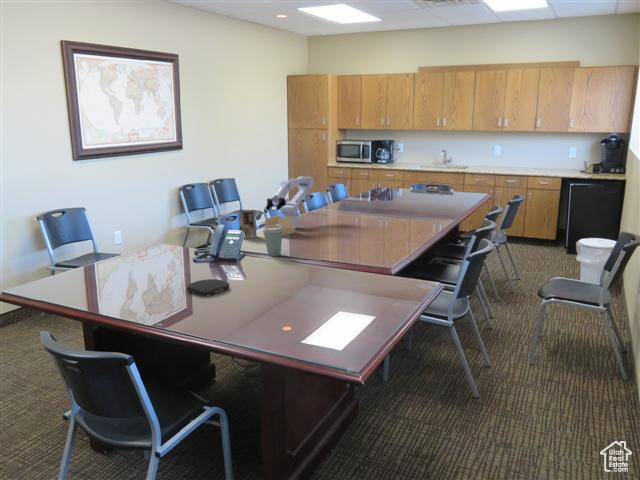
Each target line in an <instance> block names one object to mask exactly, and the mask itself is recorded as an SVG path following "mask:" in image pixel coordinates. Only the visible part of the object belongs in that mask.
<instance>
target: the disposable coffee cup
mask: <svg viewBox="0 0 640 480" xmlns="http://www.w3.org/2000/svg"><path fill="white" fill-rule="evenodd" d="M282 231H283V228H282V226H280V225H278V224H277V225H270V226H266V227H265V226H264V227H263V229H262V232H263V236H264V240H265V246H266V249H267V255H268V256H271V257H275V256H280V255H281V251H282V241H283V236H282Z"/></svg>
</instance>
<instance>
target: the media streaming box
mask: <svg viewBox="0 0 640 480" xmlns="http://www.w3.org/2000/svg"><path fill="white" fill-rule="evenodd" d="M228 289H229V290H230V283H229V282H227V281H225V280H222V279H217V278H215V279H214V278H213V279H200V280H197V281H193V282H192V283H189V284H188V285H187V286H186V291H187V292H188V291H189V292H188V293H190V292H192V293H191V294H193V293H196V294H198V295H197V296H199V295H201V297H208V296H207V295H211V296H214V295H213V294H215V295H217V294H216V293H218V294H220V292H221V293H224V292H227V291H229V290H228ZM226 290H227V291H226ZM223 291H224V292H223ZM196 294H195V295H196Z"/></svg>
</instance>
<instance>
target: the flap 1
mask: <svg viewBox="0 0 640 480" xmlns="http://www.w3.org/2000/svg"><path fill="white" fill-rule="evenodd" d="M278 219H282V214H278V215H274V216H270V217H266V218H265V222H264V227H266V226H270V225H278V221H277V220H278Z"/></svg>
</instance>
